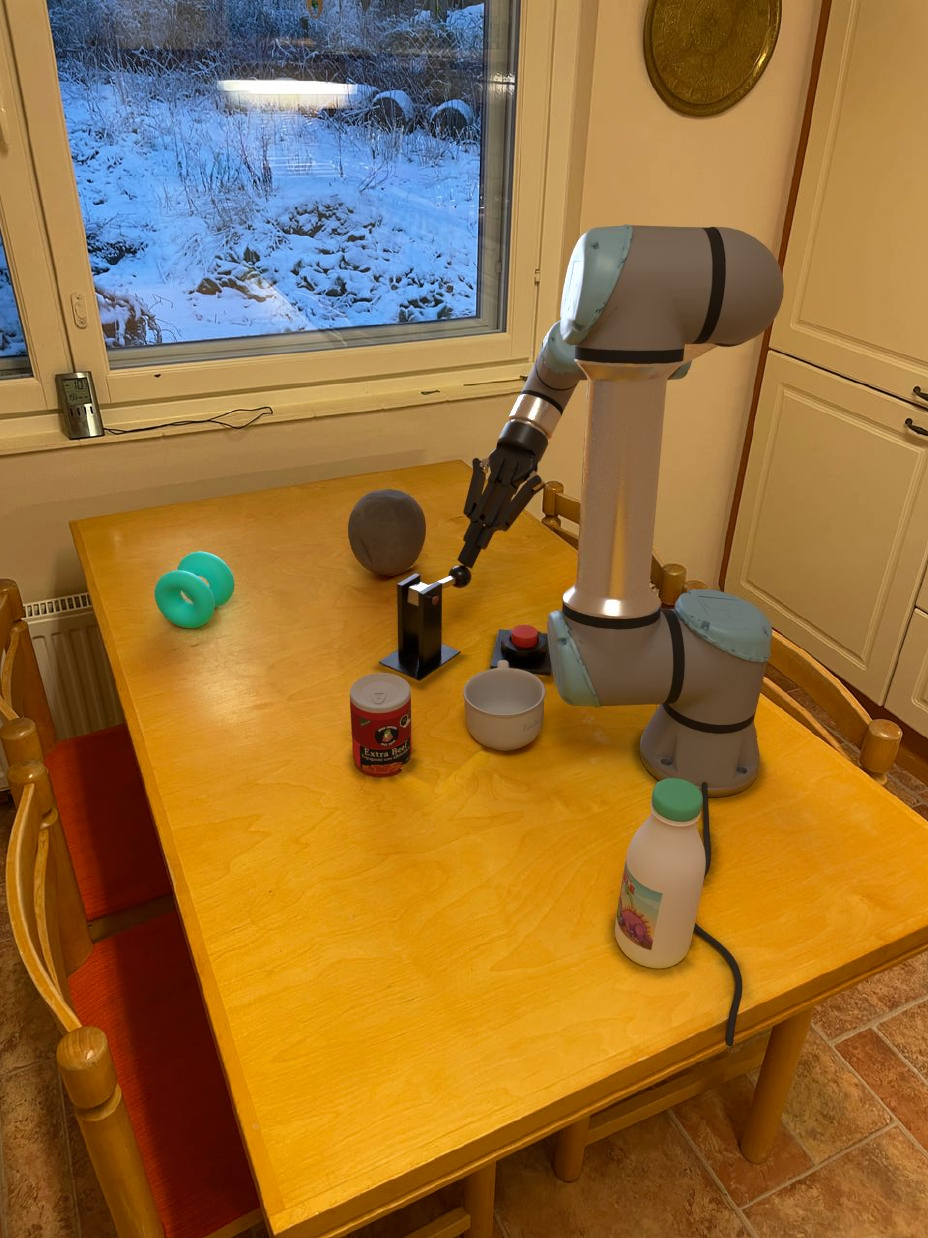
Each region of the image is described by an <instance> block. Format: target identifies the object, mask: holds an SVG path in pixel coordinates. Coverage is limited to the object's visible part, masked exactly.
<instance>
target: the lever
mask: <svg viewBox="0 0 928 1238" xmlns="http://www.w3.org/2000/svg"><path fill="white" fill-rule="evenodd" d="M437 581H438V582H441V583H442V590H445V589H446V588H448V587H451V586H452V587H453V588H456V589H464V588H466V587H467V586H469V584H470V583H471V581H472V571H471V570H470V568H468V567H466V566H464V565H463V564H457V565H455V566H453V567H451V568H450V569H449V571H448V575H447V577H444V578H442V579H440V580H437ZM431 584H432V583H430V584H426V583H424V582H422V581H421V582H420V583H417V584H415V585H413V586H410V587H408V601H407V602H409V603H411V604H414V605H417V606H418V592H420V591H421V590H423V589H425V588H426V587H428V586H430V585H431Z"/></svg>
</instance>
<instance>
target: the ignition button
mask: <svg viewBox="0 0 928 1238" xmlns="http://www.w3.org/2000/svg"><path fill="white" fill-rule="evenodd" d="M511 630H512V636H511V642H512V644H513V645H515V646H518V647H524V648H529V647H534V646H536V644H537V640H538V631H539V630H538V629H537V628H536V627H534V626H532V625H529V624H519V625H516V626H514V627H513V628H512V629H511Z"/></svg>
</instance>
